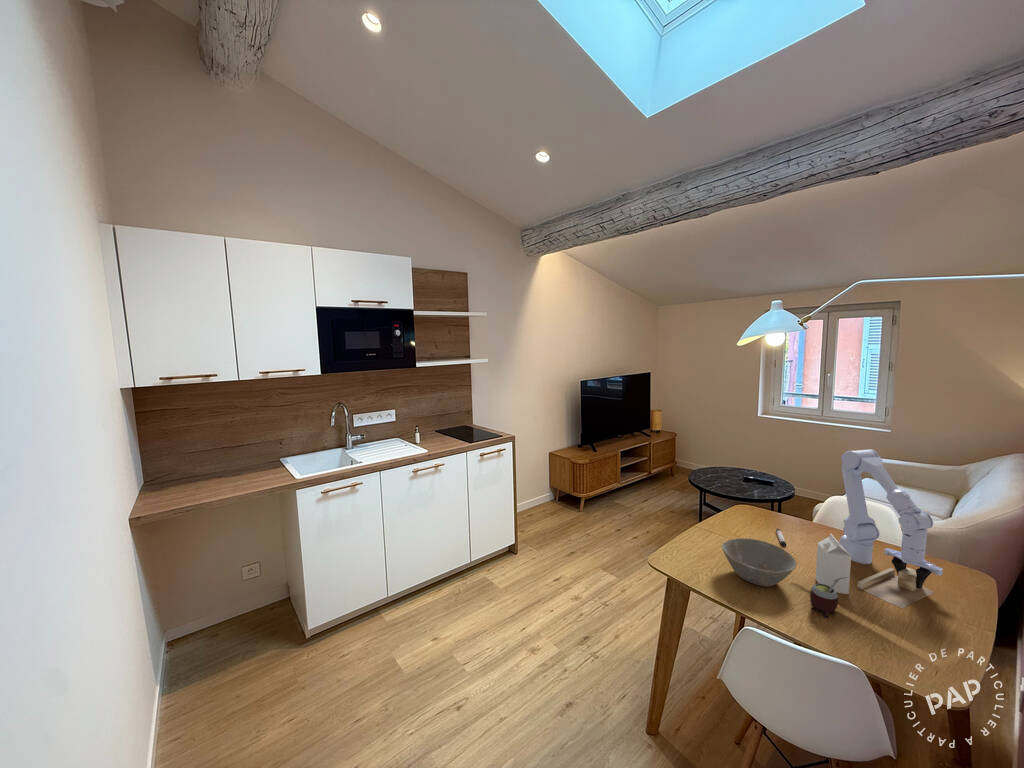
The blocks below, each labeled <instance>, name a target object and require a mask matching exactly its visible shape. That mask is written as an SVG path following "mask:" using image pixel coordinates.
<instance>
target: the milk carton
mask: <svg viewBox="0 0 1024 768" xmlns="http://www.w3.org/2000/svg"><path fill="white" fill-rule="evenodd" d="M816 548H817V551H816V563H815V564H816V565H815V566H816V567H815V580H816V582H817V584H825V585H828V586H830V587H831V586H832V584H833V583H834V580H835V579H837V578H840V577H847V578H844V579H841V580H839V581H838V582H837V583H836V584H835V586H834V587H833V589H834V590H835V592H836V593H837V594H845V595H849V594H850V593H849V592H850V579H851V564H852V560H851V555H850V554H849V553H848V552H847V551H846V550H845V549H844V548H843V547H842V546H841V545H840V543H839V541H838V539H836V537H834V535H833V534H832V533H829V536H828V537H826V538H825V539H822V540H821V541H819V542H817V547H816Z"/></svg>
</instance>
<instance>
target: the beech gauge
mask: <svg viewBox="0 0 1024 768" xmlns="http://www.w3.org/2000/svg"><path fill="white" fill-rule="evenodd" d="M897 576H898V586H900V587H903V588H905V589H907V590H910V591H912V592H913V591H916V590H918V588H916V581H917V576H916V569H913V568H911V567H906V569H904V570H901V571H899V574H897Z"/></svg>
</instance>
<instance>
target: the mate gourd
mask: <svg viewBox="0 0 1024 768" xmlns="http://www.w3.org/2000/svg"><path fill="white" fill-rule="evenodd" d="M844 578H847V577H840V578H837V579H835V580H834V583H833V584H832V586H831V587H830V586H828V585H825V584H819V583H815V584H814V585H812V586H811V589H810V592H809V595H810V597H809V598H810V604H811V608H810V609H811V611H813V612H815V611H816V612H820V613H822V615H823V616H824V618H826V619H829V616H828V614H830V615H836V609H837V607H838V604H839V595H838V593H837V592H835V590H834V589H833V587H834V586H835V584H836V583H837V582H838V581H839V580H841V579H844Z"/></svg>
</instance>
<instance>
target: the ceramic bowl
mask: <svg viewBox="0 0 1024 768" xmlns="http://www.w3.org/2000/svg"><path fill="white" fill-rule="evenodd" d="M721 549H722V551H723V554H724V555H725V557H726V560H727V562H728V563H729V565H730V566H731V567H732V569H733V571H734V572H735V573H736V574H737V576H738V577H739V578H741V579H742V580H744V581H746V582H749V583H750V584H751V583H752V584H754V585H757V586H760V587H765V588H767V587H771V586H775V585H778V584H779V583H780V582H781V581H783V580H785V579H786V578H787V577H788V576H790V574H792V572H793V571H794V570H795V569H796V567H797V560H796V559H795V558H794V557H793V556H792V554H790V553H789V552H788V551H787V550H785V549H784V548H782V547H780V546H778V545H775V544H772V543H769V542H767V541H764V540H760V539H759V540H758V539H753V538H742V537H741V538H731V539H729V540H726V541H725V542H723V543H722V545H721Z"/></svg>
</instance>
